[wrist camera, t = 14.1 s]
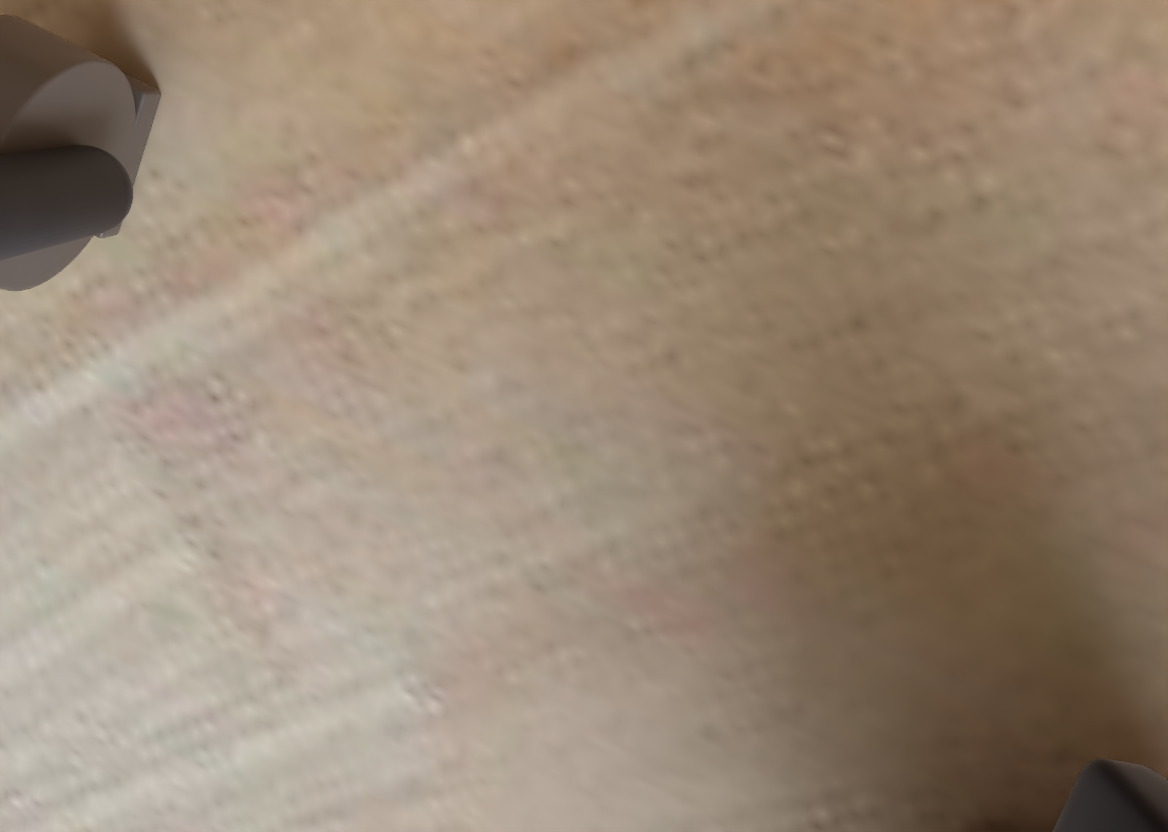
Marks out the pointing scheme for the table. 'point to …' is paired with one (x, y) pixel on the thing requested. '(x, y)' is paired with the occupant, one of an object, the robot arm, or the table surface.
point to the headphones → (63, 150)
